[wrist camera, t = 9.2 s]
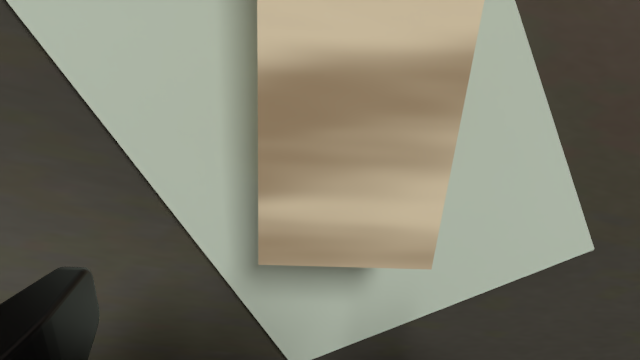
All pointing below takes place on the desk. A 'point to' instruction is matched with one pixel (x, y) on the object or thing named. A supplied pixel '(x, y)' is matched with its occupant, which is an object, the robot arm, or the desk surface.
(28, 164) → the desk surface
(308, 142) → the maple block
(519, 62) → the sage mat
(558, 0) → the desk surface
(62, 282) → the robot arm
